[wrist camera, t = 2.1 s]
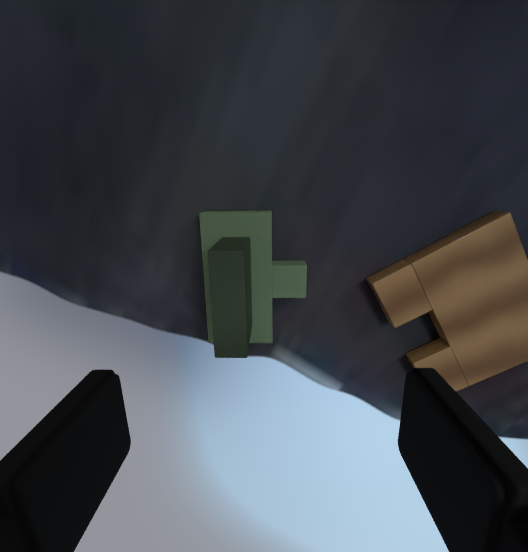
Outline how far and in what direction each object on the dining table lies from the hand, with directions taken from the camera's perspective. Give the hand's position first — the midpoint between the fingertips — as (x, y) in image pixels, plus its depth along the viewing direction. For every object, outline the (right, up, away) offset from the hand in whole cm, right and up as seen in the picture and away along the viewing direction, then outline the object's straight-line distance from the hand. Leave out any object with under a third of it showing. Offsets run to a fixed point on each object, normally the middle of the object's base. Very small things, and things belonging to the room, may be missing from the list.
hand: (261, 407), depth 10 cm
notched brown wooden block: (+18, +1, +18) cm, 26 cm away
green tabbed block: (-1, +4, +18) cm, 18 cm away
